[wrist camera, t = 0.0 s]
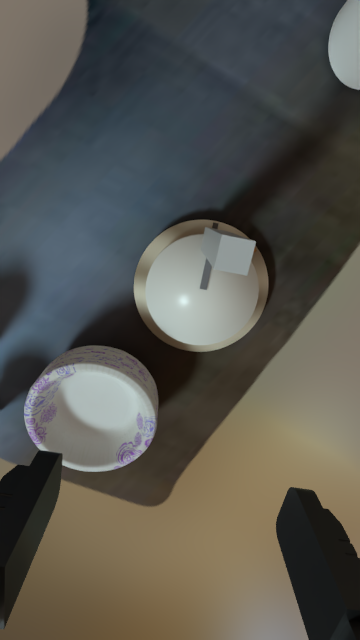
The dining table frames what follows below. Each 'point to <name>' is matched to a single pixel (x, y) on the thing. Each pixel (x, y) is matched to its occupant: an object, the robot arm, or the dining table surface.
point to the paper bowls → (93, 408)
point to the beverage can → (346, 44)
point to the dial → (203, 287)
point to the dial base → (159, 246)
